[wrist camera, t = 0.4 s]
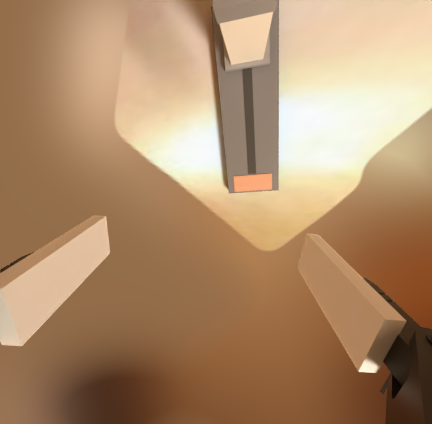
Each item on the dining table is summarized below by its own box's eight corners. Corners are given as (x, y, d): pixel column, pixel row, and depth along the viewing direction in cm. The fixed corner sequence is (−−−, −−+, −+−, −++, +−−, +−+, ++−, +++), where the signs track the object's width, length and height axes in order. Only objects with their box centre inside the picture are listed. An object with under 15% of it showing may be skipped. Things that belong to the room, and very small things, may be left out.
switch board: (213, 13, 26) (211, 6, 25) (277, -2, 25) (278, -10, 23) (229, 190, 35) (228, 193, 34) (277, 187, 34) (278, 190, 32)
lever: (223, 34, 25) (194, -65, 12) (268, 24, 24) (292, -95, 11) (226, 72, 27) (204, 20, 14) (269, 64, 26) (290, 0, 13)
